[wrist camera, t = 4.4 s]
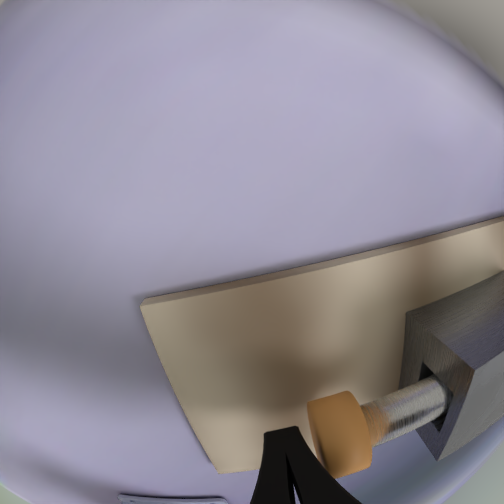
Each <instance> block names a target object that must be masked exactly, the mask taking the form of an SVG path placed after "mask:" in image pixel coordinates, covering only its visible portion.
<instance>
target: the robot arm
mask: <svg viewBox="0 0 504 504" xmlns="http://www.w3.org/2000/svg"><path fill="white" fill-rule="evenodd" d="M263 435H264V443H263V454H262V461H261V466H260V471H259V475H258V480H257V483H256V486H255V490H254V493H253V496H252V499H251V502H250V504H295V495H294V487H295V490H296V493H297V495H298V498H299V501H300V504H362V503H361V502H359V501H358V500H357V499H356V498H354V497H353V496H352V495H351V494H350V493H349V492H347V491H346V490H345V489H344V488H343V487H342V486H341V485H340V484H339V483H338V482H337V481H336V480H335V479H334V478H333V477H332V476H331V475H330V474H329V473H328V471H327V470H326V469H325V468H324V467H323V465H322V464H321V463H320V462H319V460H318V459H317V458H316V457H315V455H314V454H313V452H312V451H311V449H310V448H309V446H308V445H307V443H306V441H305V440H304V438H303V436H302V434H301V432H300V430H299V427H298V426H291V427H287V428H282V429H278V430H273V431H268V432H265V433H264V434H263ZM293 484H294V486H293ZM118 499H119V500H120V501H121V502H122V504H228V502H227V501H226V500H225V499H223V498H210V499H164V498H148V497H137V496H128V495H118Z"/></svg>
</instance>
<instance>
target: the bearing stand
mask: <svg viewBox="0 0 504 504" xmlns="http://www.w3.org/2000/svg"><path fill="white" fill-rule="evenodd" d="M140 309H141V312H142V315H143V318H144V320H145V323H146V326H147V328H148V331H149V334H150V336H151V339H152V341H153V344H154V346H155V349H156V351H157V354H158V356H159V358H160V361H161V363H162V365H163V368H164V370H165V372H166V375H167V377H168V379H169V381H170V384H171V386H172V388H173V390H174V392H175V394H176V396H177V398H178V401H179V403H180V405H181V407H182V409H183V411H184V413H185V415H186V417H187V419H188V421H189V422H190V424H191V426H192V428H193V430H194V432H195V434H196V436H197V437H198V439H199V441H200V443H201V445H202V446H203V448H204V450H205V452H206V453H207V455H208V457H209V459H210V460H211V462H212V464H213V465H214V467H215V469H216V470H217V472H218V473H219V474H224V473H234V472H242V471H250V470H256V469H260V466H261V461H262V454H263V443H264V435H263V434H264V433H265V432H268V431H273V430H278V429H282V428H287V427H291V426H298V427H299V430H300V432H301V434H302V436H303V438H304V440H305V441H306V443H307V445H308V446H309V448H310V449H311V451H312V452H313V454H314V455H315V457H317V455H316V451H315V448H314V444H313V440H312V435H311V431H310V426H309V420H308V413H307V402H308V401H312V400H316V399H319V398H323V397H327V396H330V395H333V394H337V393H340V392H343V391H350V392H351V393H352V394H353V395H354V397H355V398H356V400H357V402H358V403H359V405H362V404H365V403H368V402H370V401H373V400H376V399H378V398H381V397H383V396H386V395H389V394H391V393H393V392H396V391H398V390H401V389H403V388H405V387H408V386H410V385H412V384H414V383H416V382H419V381H421V380H423V379H425V378H427V377H429V376H431V375H433V374H435V375H436V376H437V377H438V378H439V379H440V380H441V381H442V382H443V383H444V384H445V385H446V386H447V387H448V388H449V389H450V390H451V391H452V393H453V394H454V396H453V399H452V402H451V405H450V408H449V410H448V412H446V413H445V414H443V415H441V416H439V417H437V418H436V419H434V420H432V421H430V422H428V423H426V424H424V425H422V426H420V427H418V428H416V429H415V430H416V431H417V433H418V434H419V436H420V437H421V439H422V440H423V441H424V443H425V444H426V446H427V447H428V449H429V450H430V452H431V453H432V455H433V456H434V458H435V459H436V461H437V462H438V461H439V460H441V459H443V458H444V457H446V456H448V455H449V454H451V453H453V452H454V451H456V450H457V449H459V448H461V447H462V446H464V445H465V444H467V443H468V442H469V441H471V440H472V439H474V438H475V437H477V436H478V435H479V434H481V433H482V432H483V431H485V430H486V429H487V428H489V427H490V426H491V425H493V424H494V423H495V422H496V421H498V420H499V419H500V418H501V417H503V416H504V216H502V217H498V218H494V219H491V220H487V221H484V222H480V223H476V224H473V225H469V226H465V227H462V228H458V229H454V230H450V231H447V232H443V233H439V234H435V235H431V236H427V237H423V238H419V239H416V240H412V241H408V242H404V243H400V244H396V245H392V246H387V247H383V248H379V249H375V250H371V251H367V252H363V253H358V254H354V255H350V256H346V257H341V258H337V259H333V260H328V261H324V262H320V263H315V264H311V265H306V266H302V267H297V268H293V269H288V270H284V271H279V272H274V273H270V274H265V275H260V276H256V277H251V278H246V279H241V280H237V281H232V282H227V283H222V284H217V285H212V286H207V287H202V288H197V289H192V290H187V291H182V292H177V293H171V294H166V295H161V296H156V297H150V298H145V299H144V301H143V302H142V304H141V305H140Z"/></svg>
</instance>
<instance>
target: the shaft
mask: <svg viewBox="0 0 504 504" xmlns="http://www.w3.org/2000/svg"><path fill="white" fill-rule="evenodd" d="M453 396H454V394H453V393H452V391H451V390H450V389H449V388H448V387H447V386H446V385H445V384H444V383H443V382H442V381H441V380H440V379H439V378H438V377H437V376H436V375H435V374H433V375H431V376H429V377H427V378H425V379H423V380H421V381H419V382H416V383H414V384H412V385H410V386H408V387H405V388H403V389H401V390H398V391H396V392H393V393H391V394H389V395H386V396H383V397H381V398H378V399H376V400H373V401H370V402H368V403H365V404H362V405H359V403H358V402H357V400H356V398H355V397H354V395H353V394H352V393H351V392H350V391H343V392H340V393H337V394H333V395H330V396H327V397H323V398H319V399H316V400H312V401H308V402H307V413H308V420H309V426H310V431H311V435H312V440H313V444H314V448H315V451H316V455H317V458H318V460H319V462H320V463H321V464H322V465H323V467H324V468H325V469H326V470H327V471H328V473H329V474H330V475H331V476H332V477H333V478H334V479H336V478H340V477H343V476H346V475H349V474H352V473H355V472H358V471H361V470H363V469H366V468H369V467H370V465H371V461H372V448H373V447H375V446H378V445H380V444H383V443H385V442H388V441H390V440H392V439H395V438H397V437H399V436H401V435H404V434H406V433H408V432H410V431H412V430H414V429H416V428H418V427H420V426H422V425H424V424H426V423H428V422H430V421H432V420H434V419H436V418H437V417H439V416H441V415H443V414H445V413H446V412H448V410H449V408H450V405H451V402H452V399H453Z"/></svg>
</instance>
